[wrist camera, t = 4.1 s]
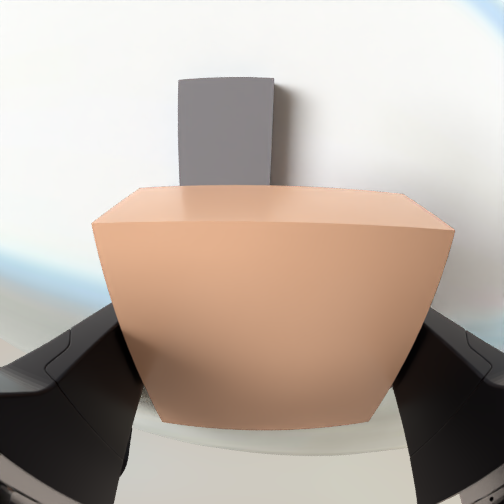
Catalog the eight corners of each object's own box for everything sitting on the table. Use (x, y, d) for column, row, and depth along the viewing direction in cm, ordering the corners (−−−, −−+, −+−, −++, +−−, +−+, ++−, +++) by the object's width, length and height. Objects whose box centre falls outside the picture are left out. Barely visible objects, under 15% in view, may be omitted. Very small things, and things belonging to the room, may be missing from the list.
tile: (354, 369, 10) (368, 421, 8) (176, 369, 10) (162, 421, 8) (403, 193, 7) (455, 230, 4) (139, 187, 7) (91, 223, 5)
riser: (266, 224, 18) (267, 237, 16) (190, 222, 18) (182, 234, 16) (272, 82, 14) (274, 78, 12) (187, 83, 14) (178, 80, 12)
